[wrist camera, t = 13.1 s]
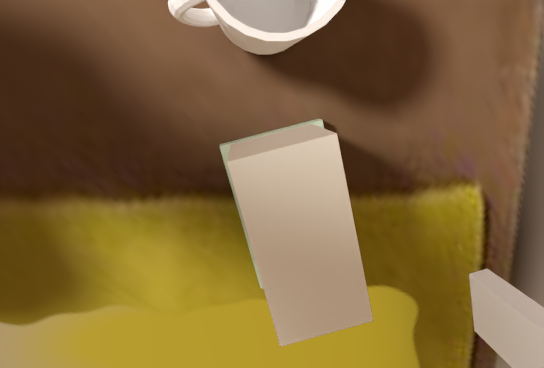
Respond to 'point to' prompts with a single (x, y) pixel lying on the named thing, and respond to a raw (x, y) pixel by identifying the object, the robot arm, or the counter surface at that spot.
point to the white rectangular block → (301, 231)
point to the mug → (259, 20)
